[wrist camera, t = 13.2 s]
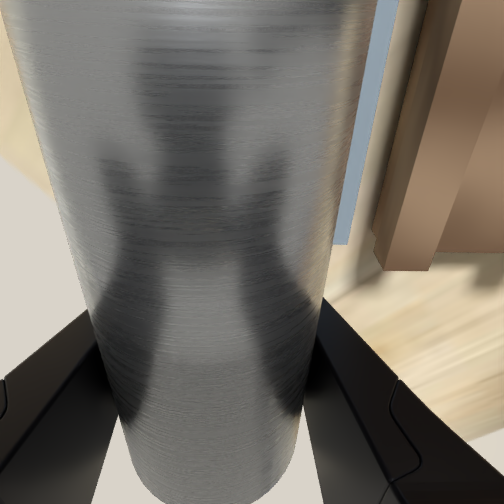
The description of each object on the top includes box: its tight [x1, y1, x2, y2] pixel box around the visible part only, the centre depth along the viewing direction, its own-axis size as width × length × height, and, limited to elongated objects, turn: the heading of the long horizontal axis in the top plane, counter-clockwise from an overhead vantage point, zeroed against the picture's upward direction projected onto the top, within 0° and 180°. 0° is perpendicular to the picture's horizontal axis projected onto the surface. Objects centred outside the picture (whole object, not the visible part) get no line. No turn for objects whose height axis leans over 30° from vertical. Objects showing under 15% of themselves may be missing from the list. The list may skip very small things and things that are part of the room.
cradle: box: [333, 0, 399, 245], centre depth 13 cm, size 12×10×4 cm
